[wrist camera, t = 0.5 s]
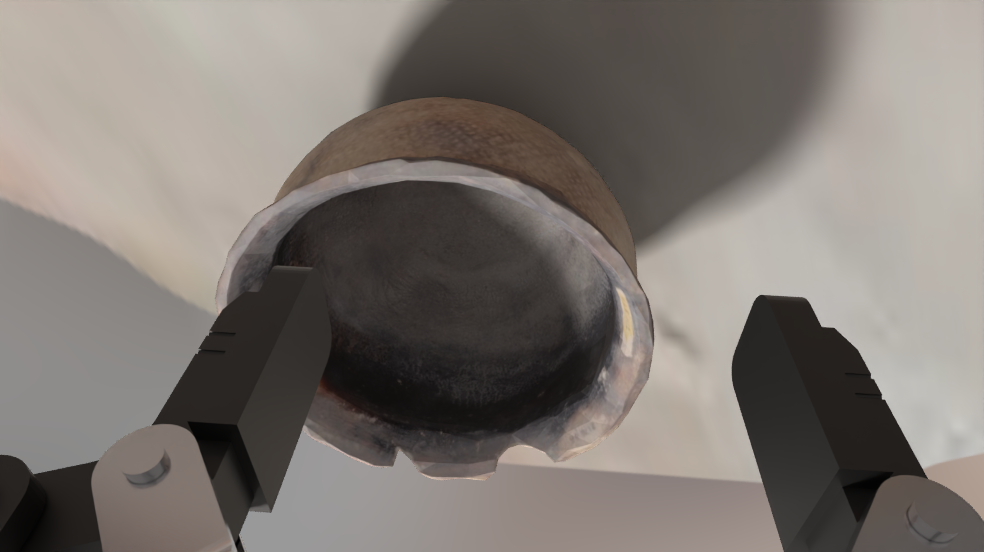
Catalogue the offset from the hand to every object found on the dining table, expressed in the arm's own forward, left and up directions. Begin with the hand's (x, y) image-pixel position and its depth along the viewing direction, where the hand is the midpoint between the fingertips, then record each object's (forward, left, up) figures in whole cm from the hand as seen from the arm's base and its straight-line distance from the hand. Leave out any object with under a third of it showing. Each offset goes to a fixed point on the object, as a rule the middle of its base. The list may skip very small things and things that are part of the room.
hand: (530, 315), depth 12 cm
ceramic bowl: (+16, -1, -28) cm, 32 cm away
